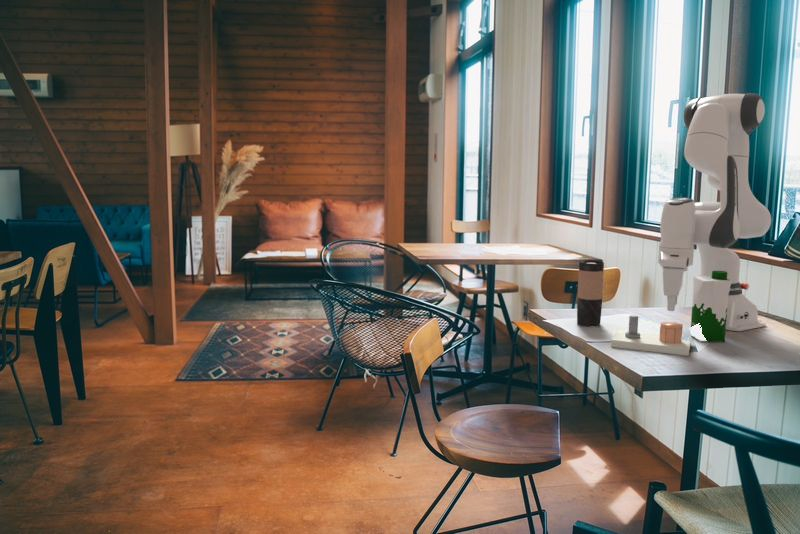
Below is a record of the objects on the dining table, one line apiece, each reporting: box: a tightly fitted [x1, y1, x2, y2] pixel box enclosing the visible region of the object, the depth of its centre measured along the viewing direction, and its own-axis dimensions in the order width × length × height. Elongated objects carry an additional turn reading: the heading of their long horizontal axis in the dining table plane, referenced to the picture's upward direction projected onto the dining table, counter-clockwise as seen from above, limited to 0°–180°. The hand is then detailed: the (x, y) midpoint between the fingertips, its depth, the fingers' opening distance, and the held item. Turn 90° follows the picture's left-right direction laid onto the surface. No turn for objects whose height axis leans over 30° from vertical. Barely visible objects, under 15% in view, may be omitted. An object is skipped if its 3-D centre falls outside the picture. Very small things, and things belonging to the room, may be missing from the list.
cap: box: [659, 321, 683, 344], centre depth 188 cm, size 6×6×5 cm
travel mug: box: [576, 260, 605, 327], centre depth 215 cm, size 8×8×20 cm
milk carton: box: [690, 271, 731, 343], centre depth 197 cm, size 9×9×20 cm
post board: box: [610, 314, 691, 356], centre depth 190 cm, size 20×12×8 cm, turn 65°
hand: (672, 307), depth 186 cm, fingers open, 8 cm apart
